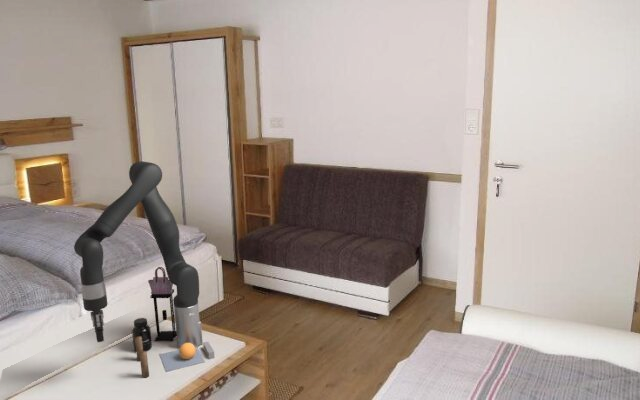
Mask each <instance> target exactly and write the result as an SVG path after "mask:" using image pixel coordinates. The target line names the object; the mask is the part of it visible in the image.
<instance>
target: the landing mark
mask: <svg viewBox="0 0 640 400" xmlns="http://www.w3.org/2000/svg"><path fill="white" fill-rule="evenodd" d="M195 349H196V352H195V355H194V356H193V357H192V358H191V359H183V358H182V357H181V356H180V354H179V349H177V350H176V349H175V350H173V351H172V350H171V351H167V352H163V353H160V354H159V356H160V360H161V362H162V364H163V368H164V369H165V372H166V373H167V372H171V371H174V370H179V369H182V368H183V369H184V368H186V367H192V366H195V365H199V364H203V363H206V362H205V359H204V357H203V356H202V354H201V352H200V350H199V349H198V347H196V348H195Z"/></svg>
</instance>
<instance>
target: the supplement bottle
mask: <svg viewBox="0 0 640 400" xmlns="http://www.w3.org/2000/svg"><path fill="white" fill-rule="evenodd" d="M131 336H132V344H133V347H132V348H133V351H134V352H136V344H135V337H138V336H141V337H142V345H143V351H146V352H148V351H150V350H152V346H153V345H152V330H151V327H150V325H149V324H148V319H147V318H145V317H139V318H137V319H135V320H134V321H133V327H132V329H131Z"/></svg>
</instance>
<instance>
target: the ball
mask: <svg viewBox="0 0 640 400" xmlns="http://www.w3.org/2000/svg"><path fill="white" fill-rule="evenodd" d="M178 350H179V354H180V356H181V357H182V358H183V359H191V358H192V357H193V356H194V355H195V352H196V349H195V346H194V345H193V344H192V343H184V344H183V345H182V346H181V347H180V348H178Z"/></svg>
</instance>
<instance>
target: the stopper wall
mask: <svg viewBox="0 0 640 400" xmlns="http://www.w3.org/2000/svg"><path fill="white" fill-rule="evenodd" d="M202 346H203V350H204V352H205V354H206V356H207V357H208V359H209V360H212V359H215V351H214V349H213V347H212V346H211V344H210V343H209V341H205V342H204V341H203V344H202Z"/></svg>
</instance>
